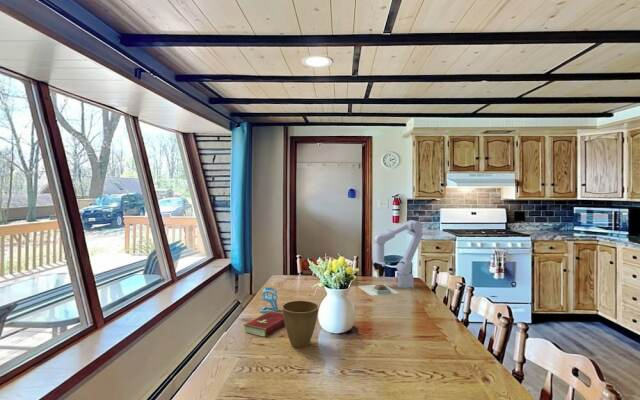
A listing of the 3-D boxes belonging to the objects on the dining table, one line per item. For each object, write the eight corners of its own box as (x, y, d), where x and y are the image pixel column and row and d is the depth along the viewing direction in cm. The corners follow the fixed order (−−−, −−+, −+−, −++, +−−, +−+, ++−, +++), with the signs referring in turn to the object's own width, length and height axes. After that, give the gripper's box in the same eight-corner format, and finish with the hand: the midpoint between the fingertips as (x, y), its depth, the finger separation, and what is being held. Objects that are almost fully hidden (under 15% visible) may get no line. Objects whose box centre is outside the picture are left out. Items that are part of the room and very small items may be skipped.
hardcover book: (291, 322, 183) (291, 314, 183) (265, 338, 164) (265, 328, 164) (270, 318, 188) (270, 310, 188) (243, 333, 170) (243, 323, 169)
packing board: (383, 285, 251) (384, 280, 251) (399, 294, 230) (399, 289, 230) (356, 287, 246) (357, 282, 246) (370, 296, 225) (370, 291, 225)
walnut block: (382, 290, 235) (382, 284, 235) (386, 293, 230) (386, 286, 230) (375, 291, 234) (375, 284, 234) (378, 293, 229) (378, 286, 229)
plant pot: (274, 346, 155) (274, 307, 154) (296, 334, 167) (297, 298, 167) (304, 355, 147) (304, 314, 146) (325, 342, 159) (325, 304, 158)
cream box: (381, 275, 245) (381, 269, 245) (384, 277, 240) (384, 271, 240) (373, 275, 244) (373, 269, 244) (377, 277, 239) (377, 271, 239)
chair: (275, 314, 194) (275, 290, 193) (259, 312, 196) (259, 289, 195) (279, 309, 201) (280, 286, 201) (264, 307, 203) (265, 285, 203)
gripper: (369, 252, 247) (368, 273, 248) (378, 256, 233) (378, 278, 234) (379, 252, 249) (378, 272, 250) (389, 256, 235) (388, 277, 236)
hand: (379, 275), depth 242 cm, fingers closed on cream box, 5 cm apart
